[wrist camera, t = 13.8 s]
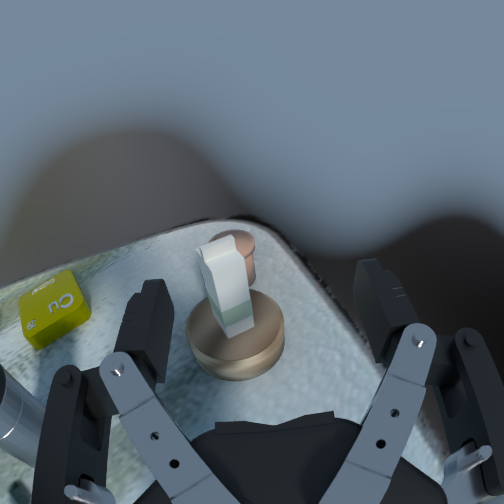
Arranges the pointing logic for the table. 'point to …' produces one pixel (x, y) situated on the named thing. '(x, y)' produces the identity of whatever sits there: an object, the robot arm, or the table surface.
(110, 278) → the table surface
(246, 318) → the carton
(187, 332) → the oak podium
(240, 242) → the terracotta pot
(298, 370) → the table surface
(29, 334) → the element tile
